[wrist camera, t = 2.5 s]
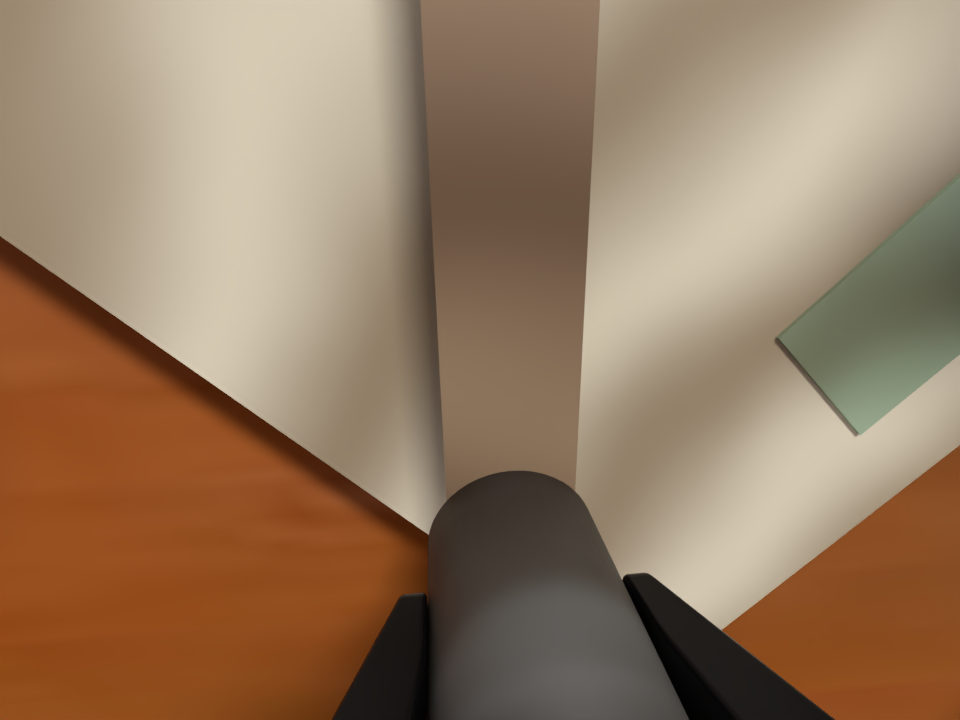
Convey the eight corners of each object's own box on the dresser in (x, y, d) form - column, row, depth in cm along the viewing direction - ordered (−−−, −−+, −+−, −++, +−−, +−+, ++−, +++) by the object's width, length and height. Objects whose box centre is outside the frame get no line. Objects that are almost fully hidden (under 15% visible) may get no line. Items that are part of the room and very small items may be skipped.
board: (1167, 207, 12) (1267, 212, 11) (628, 642, 16) (648, 690, 14) (525, -1282, 6) (561, -1818, 4) (-194, 45, 9) (-319, 18, 7)
